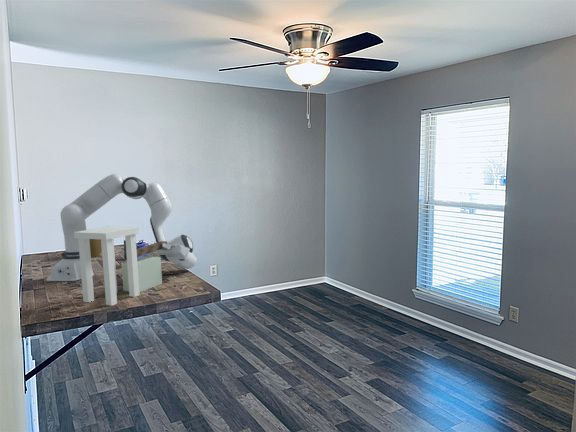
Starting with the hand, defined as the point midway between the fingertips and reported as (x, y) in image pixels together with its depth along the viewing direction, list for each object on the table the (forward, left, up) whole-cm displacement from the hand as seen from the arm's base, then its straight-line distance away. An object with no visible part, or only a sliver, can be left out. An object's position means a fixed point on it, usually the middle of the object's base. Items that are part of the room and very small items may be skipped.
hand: (158, 244), depth 216 cm
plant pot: (-58, +79, -19) cm, 100 cm away
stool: (-16, -27, -18) cm, 36 cm away
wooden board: (-4, -6, -3) cm, 8 cm away
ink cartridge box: (-20, +44, -19) cm, 52 cm away
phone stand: (-31, +64, -19) cm, 73 cm away
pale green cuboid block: (-6, -11, -18) cm, 22 cm away
